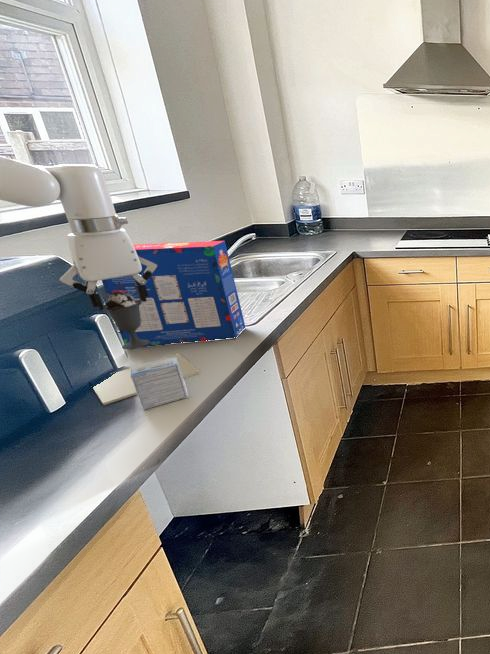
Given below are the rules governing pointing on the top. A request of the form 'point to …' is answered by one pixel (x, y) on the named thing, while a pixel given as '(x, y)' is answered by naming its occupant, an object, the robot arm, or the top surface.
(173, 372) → the medicine box
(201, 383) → the top surface
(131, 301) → the sundae
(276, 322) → the top surface
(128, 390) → the mat
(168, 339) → the pasta box
